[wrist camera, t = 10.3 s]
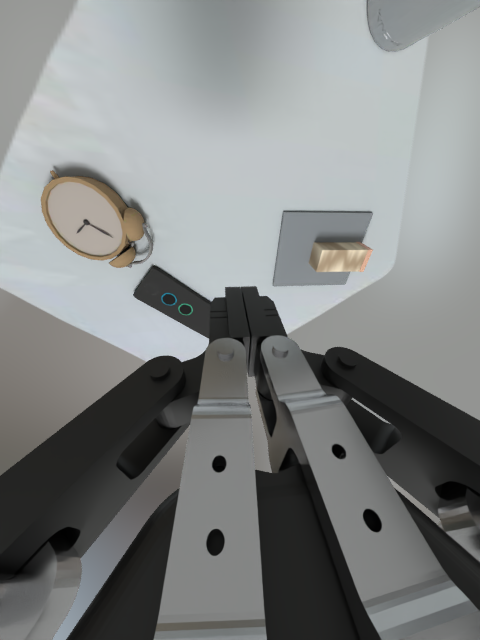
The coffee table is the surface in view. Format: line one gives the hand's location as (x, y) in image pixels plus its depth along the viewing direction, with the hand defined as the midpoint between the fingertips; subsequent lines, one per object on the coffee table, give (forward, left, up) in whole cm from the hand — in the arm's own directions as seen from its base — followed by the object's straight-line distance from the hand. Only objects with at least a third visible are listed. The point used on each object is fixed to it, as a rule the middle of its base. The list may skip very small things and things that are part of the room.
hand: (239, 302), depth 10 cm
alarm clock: (+12, -15, -30) cm, 35 cm away
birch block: (-1, +19, -26) cm, 32 cm away
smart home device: (+22, +3, -30) cm, 37 cm away
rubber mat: (-2, +20, -29) cm, 35 cm away
